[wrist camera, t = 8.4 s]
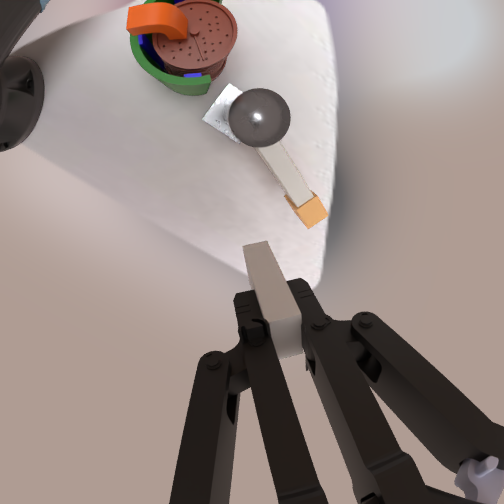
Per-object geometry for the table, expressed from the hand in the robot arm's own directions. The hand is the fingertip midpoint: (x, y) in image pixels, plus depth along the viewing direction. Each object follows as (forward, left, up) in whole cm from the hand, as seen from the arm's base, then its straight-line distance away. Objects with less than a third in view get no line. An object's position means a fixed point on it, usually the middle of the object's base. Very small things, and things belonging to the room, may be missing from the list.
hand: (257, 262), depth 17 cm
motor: (-13, +10, -24) cm, 29 cm away
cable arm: (+3, +5, -15) cm, 16 cm away
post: (-4, +7, -24) cm, 25 cm away
